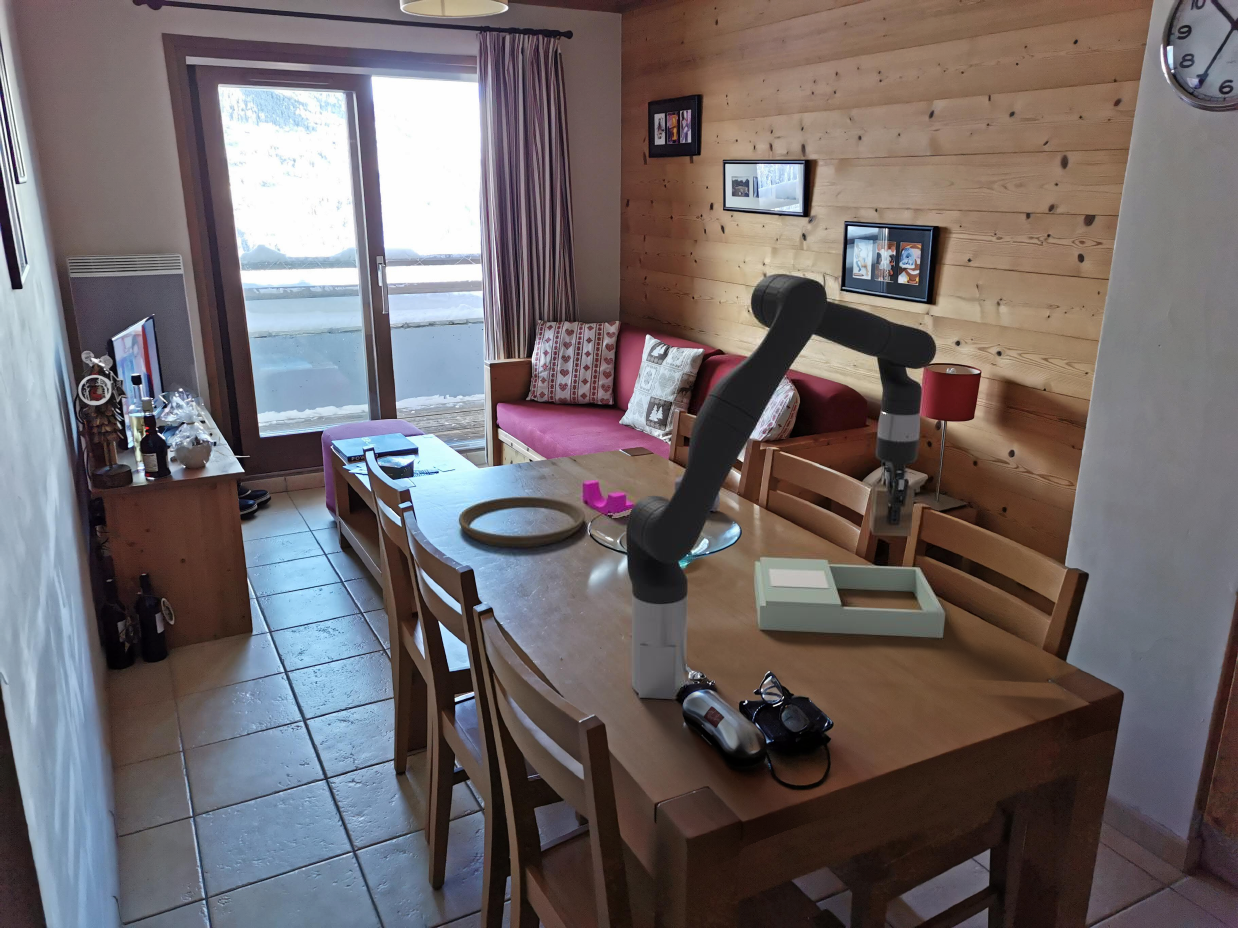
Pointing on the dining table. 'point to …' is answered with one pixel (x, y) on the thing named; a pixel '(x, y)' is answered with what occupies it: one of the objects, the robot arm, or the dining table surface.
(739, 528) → the dining table surface
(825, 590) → the box
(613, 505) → the toy block
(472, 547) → the dining table surface
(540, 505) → the brown flat ring
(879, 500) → the wood block
